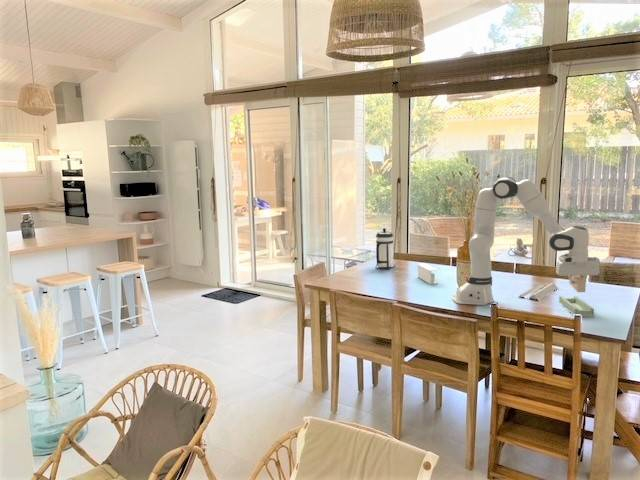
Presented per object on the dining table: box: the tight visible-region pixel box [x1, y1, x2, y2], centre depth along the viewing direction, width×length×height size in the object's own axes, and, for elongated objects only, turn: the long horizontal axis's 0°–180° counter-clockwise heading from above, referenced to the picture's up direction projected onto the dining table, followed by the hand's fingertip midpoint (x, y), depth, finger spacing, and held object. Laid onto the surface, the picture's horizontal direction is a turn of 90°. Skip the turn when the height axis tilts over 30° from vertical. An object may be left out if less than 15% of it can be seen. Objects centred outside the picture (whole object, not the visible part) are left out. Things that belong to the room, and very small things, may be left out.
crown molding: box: [518, 282, 559, 300], centre depth 286 cm, size 31×12×4 cm, turn 136°
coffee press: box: [375, 228, 396, 271], centre depth 361 cm, size 17×16×30 cm
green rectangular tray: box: [558, 295, 595, 318], centre depth 254 cm, size 9×22×4 cm, turn 173°
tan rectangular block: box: [568, 275, 587, 293], centre depth 251 cm, size 4×16×6 cm, turn 166°
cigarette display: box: [417, 263, 438, 285], centre depth 324 cm, size 20×6×9 cm, turn 12°
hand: (577, 283), depth 252 cm, fingers closed on tan rectangular block, 4 cm apart
